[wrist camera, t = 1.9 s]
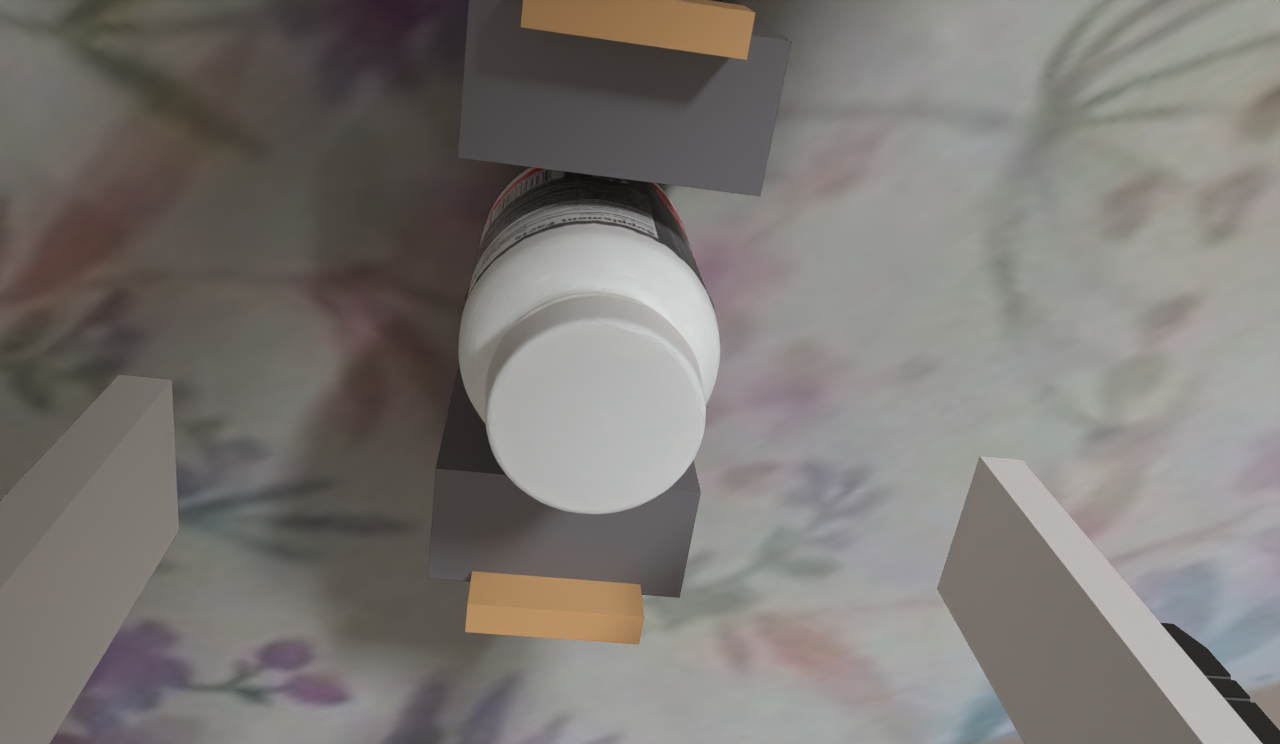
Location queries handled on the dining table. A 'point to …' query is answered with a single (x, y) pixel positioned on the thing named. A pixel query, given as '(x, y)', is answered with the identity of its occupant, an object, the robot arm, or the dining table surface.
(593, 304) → the pill bottle
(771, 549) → the dining table surface
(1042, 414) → the dining table surface
